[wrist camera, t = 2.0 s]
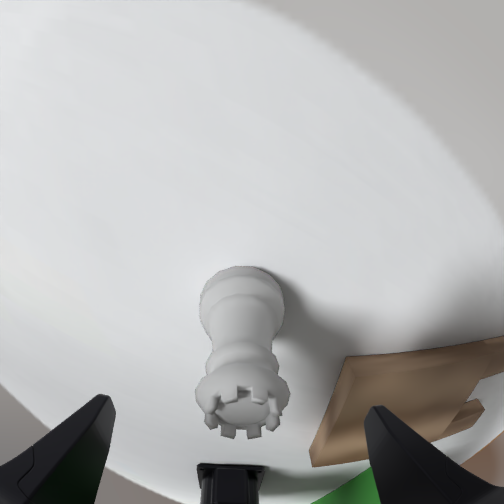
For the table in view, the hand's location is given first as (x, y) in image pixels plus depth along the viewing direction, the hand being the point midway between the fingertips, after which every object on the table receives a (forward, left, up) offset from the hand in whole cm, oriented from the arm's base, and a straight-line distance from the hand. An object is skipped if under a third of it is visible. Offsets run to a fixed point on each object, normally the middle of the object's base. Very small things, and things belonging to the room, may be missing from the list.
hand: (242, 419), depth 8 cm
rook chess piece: (0, 0, -8) cm, 8 cm away
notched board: (-10, -17, -8) cm, 21 cm away
